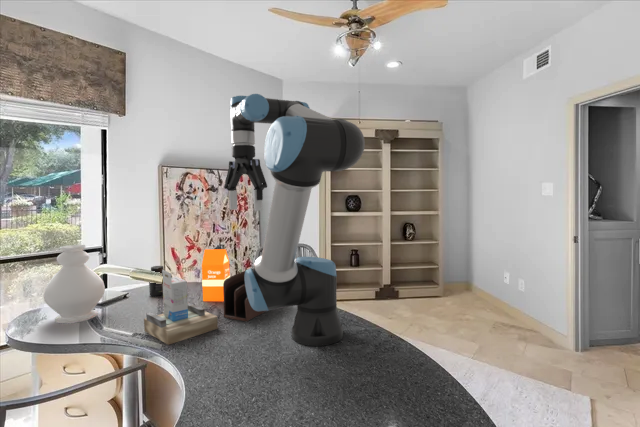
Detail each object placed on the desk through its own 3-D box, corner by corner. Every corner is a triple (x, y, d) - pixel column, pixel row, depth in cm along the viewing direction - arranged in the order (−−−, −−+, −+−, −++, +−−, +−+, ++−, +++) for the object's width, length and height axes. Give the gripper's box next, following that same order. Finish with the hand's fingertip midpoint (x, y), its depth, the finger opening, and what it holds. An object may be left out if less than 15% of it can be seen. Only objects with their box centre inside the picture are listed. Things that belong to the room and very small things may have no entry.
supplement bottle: (147, 294, 157) (145, 266, 156) (163, 291, 161) (162, 264, 160) (152, 298, 152) (151, 269, 151) (169, 294, 156) (168, 266, 155)
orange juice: (209, 295, 154) (208, 247, 153) (230, 295, 154) (229, 247, 152) (202, 301, 146) (200, 251, 145) (224, 301, 146) (223, 250, 144)
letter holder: (223, 318, 127) (222, 277, 126) (258, 301, 145) (257, 266, 144) (246, 322, 123) (245, 280, 122) (280, 305, 140) (279, 268, 139)
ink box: (189, 318, 115) (187, 271, 114) (172, 322, 112) (170, 273, 111) (179, 311, 121) (177, 266, 120) (163, 315, 118) (161, 269, 117)
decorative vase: (43, 316, 131) (38, 246, 130) (100, 305, 143) (96, 241, 141) (48, 330, 118) (42, 252, 116) (111, 317, 129) (107, 246, 128)
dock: (217, 328, 117) (217, 309, 117) (168, 344, 105) (167, 324, 105) (192, 317, 128) (191, 300, 127) (144, 331, 116) (143, 312, 116)
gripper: (277, 142, 116) (278, 210, 118) (231, 149, 133) (233, 208, 135) (258, 140, 111) (260, 211, 112) (212, 148, 128) (214, 209, 129)
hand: (245, 210), depth 123 cm, fingers open, 13 cm apart
